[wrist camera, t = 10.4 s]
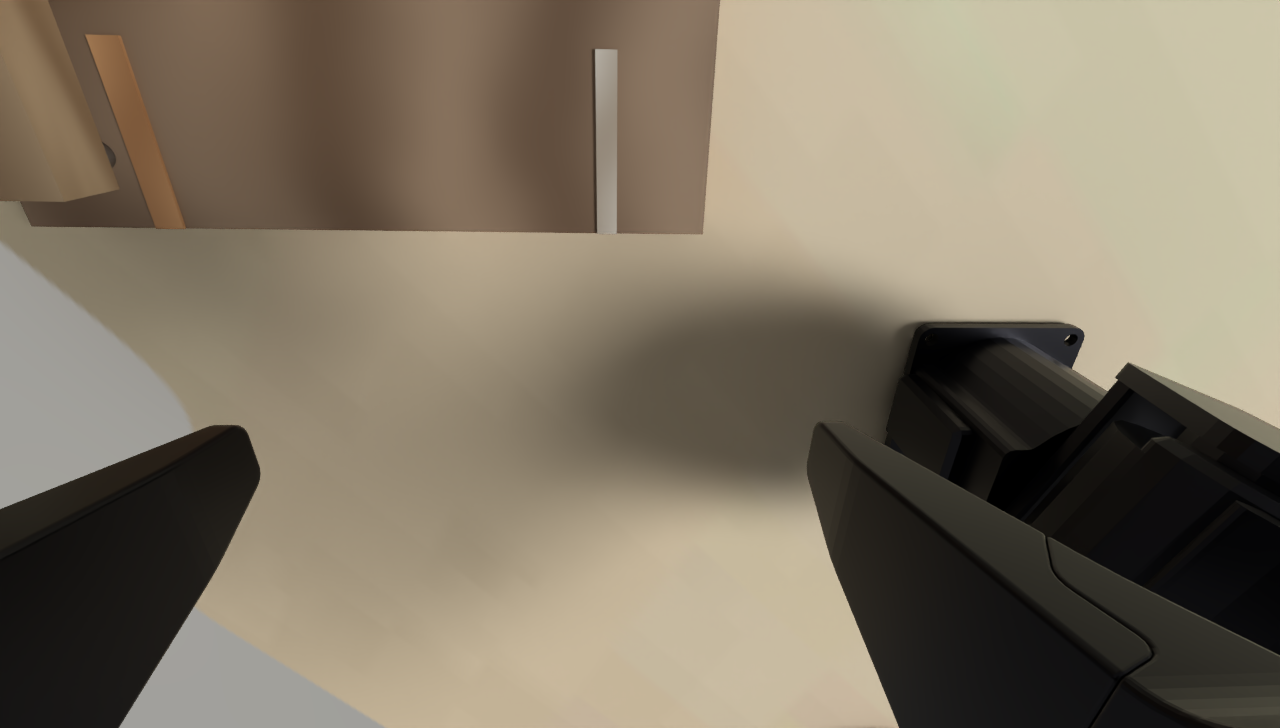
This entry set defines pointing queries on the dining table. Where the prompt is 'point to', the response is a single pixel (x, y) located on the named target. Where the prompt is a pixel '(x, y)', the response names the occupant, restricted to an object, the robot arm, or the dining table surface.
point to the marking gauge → (45, 114)
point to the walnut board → (396, 114)
